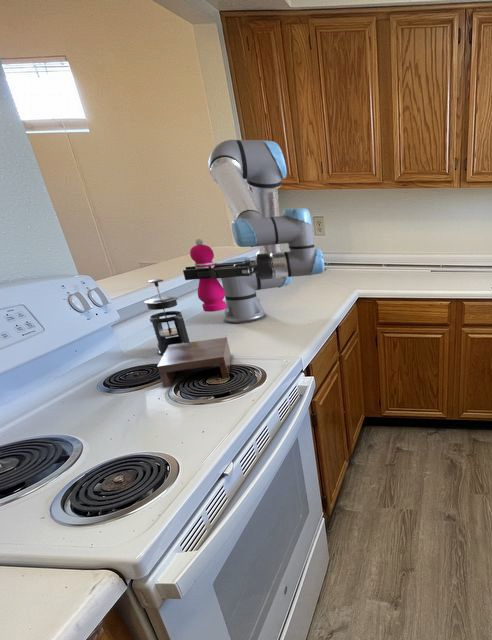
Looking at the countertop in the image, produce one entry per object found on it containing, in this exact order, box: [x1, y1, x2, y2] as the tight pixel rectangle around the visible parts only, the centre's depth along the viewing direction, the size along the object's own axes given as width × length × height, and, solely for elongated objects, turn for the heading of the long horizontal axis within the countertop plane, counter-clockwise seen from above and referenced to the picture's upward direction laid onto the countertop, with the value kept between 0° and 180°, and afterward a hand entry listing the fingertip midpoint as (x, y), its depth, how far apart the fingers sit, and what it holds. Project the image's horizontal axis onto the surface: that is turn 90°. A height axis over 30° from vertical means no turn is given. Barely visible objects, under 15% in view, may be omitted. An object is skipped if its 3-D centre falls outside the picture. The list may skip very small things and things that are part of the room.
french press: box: [144, 278, 190, 356], centre depth 132 cm, size 12×9×23 cm
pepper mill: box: [189, 238, 226, 313], centre depth 120 cm, size 7×7×20 cm
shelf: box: [156, 337, 232, 388], centre depth 119 cm, size 18×16×6 cm
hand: (185, 273), depth 118 cm, fingers closed on pepper mill, 5 cm apart
